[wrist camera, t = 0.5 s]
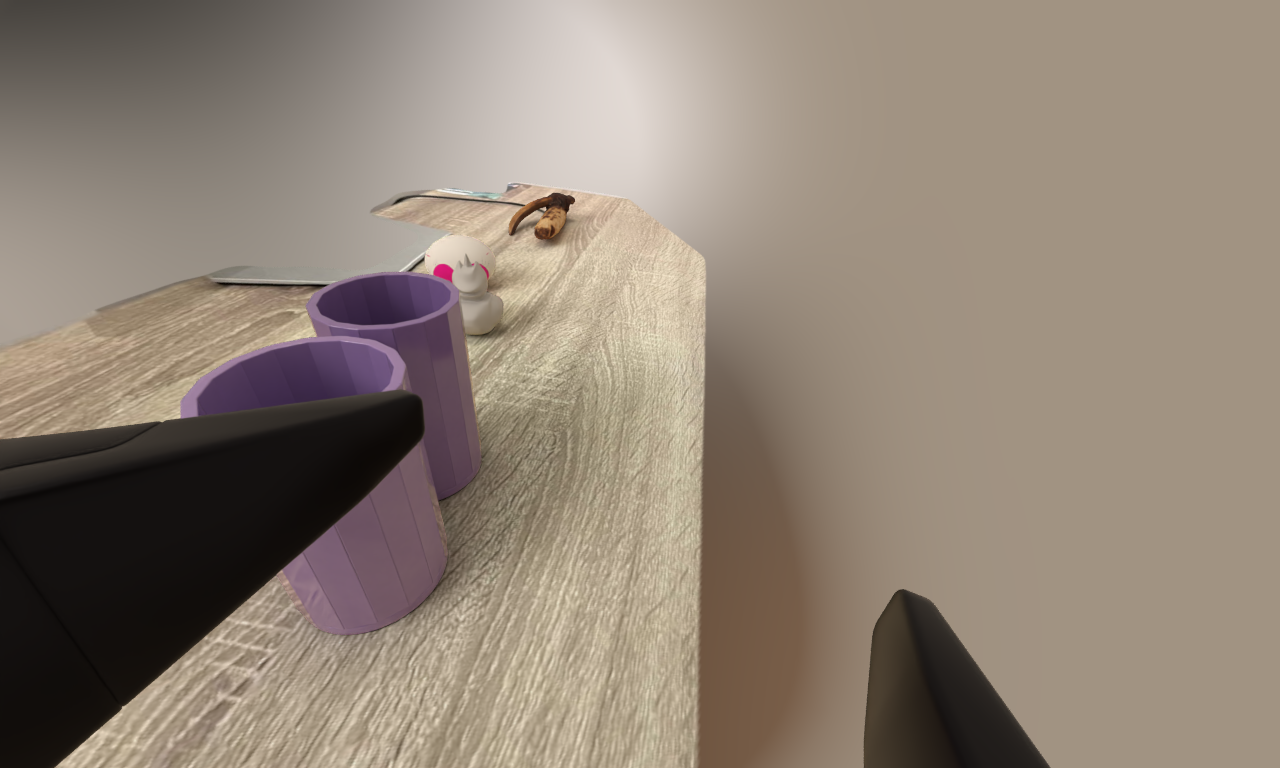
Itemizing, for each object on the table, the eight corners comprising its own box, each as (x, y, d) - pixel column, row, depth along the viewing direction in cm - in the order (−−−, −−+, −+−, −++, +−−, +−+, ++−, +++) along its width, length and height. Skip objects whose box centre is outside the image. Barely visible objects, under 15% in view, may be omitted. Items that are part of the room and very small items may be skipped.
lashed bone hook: (524, 215, 81) (498, 244, 66) (522, 186, 78) (494, 210, 63) (577, 218, 81) (563, 248, 66) (576, 190, 78) (561, 215, 63)
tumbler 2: (358, 665, 20) (253, 474, 13) (267, 587, 22) (138, 392, 16) (475, 550, 25) (442, 370, 18) (391, 497, 28) (334, 320, 21)
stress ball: (434, 319, 53) (419, 288, 47) (432, 260, 55) (418, 224, 49) (502, 315, 54) (496, 284, 48) (497, 258, 57) (491, 223, 51)
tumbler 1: (420, 523, 26) (370, 344, 19) (343, 474, 29) (274, 300, 22) (503, 455, 31) (487, 294, 25) (432, 418, 34) (399, 262, 27)
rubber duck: (441, 344, 42) (426, 261, 38) (454, 312, 48) (443, 236, 43) (501, 344, 43) (493, 263, 39) (508, 313, 49) (502, 239, 44)
